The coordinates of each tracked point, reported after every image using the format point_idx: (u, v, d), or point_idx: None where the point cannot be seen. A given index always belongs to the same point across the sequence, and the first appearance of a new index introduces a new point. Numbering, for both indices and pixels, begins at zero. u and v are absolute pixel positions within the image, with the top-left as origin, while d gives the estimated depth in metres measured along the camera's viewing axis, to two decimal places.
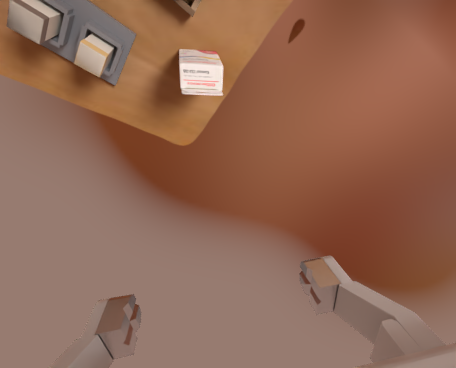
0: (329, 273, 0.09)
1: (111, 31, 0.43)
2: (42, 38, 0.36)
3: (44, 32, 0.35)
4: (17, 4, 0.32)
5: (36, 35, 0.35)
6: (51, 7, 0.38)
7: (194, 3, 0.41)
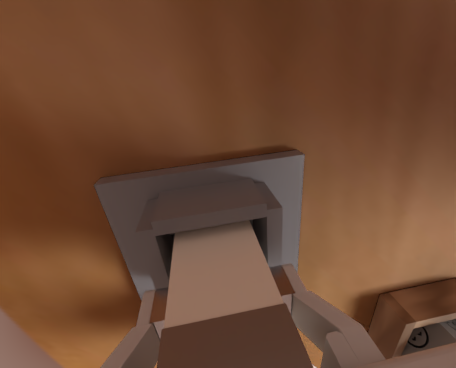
0: (285, 282, 0.09)
1: None
2: None
3: None
4: None
5: None
6: None
7: None
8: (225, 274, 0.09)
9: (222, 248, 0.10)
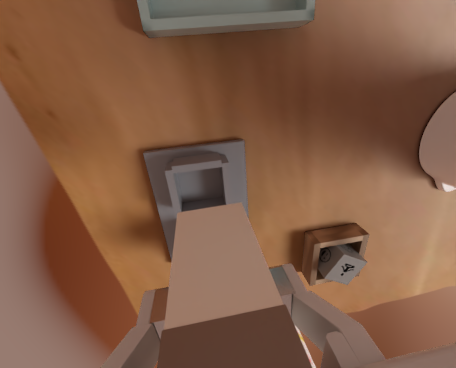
0: (285, 282, 0.09)
1: None
2: None
3: None
4: None
5: None
6: None
7: (320, 280, 0.36)
8: (225, 275, 0.09)
9: (222, 250, 0.10)
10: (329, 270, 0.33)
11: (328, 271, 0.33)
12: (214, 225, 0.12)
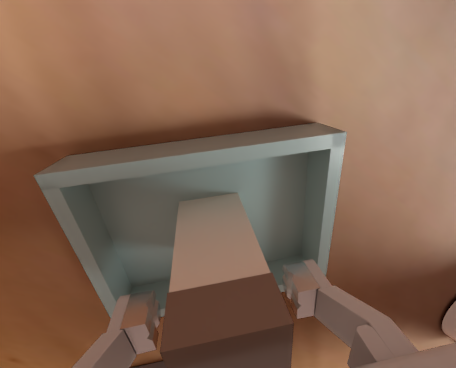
0: (309, 278, 0.09)
1: None
2: None
3: None
4: (286, 340, 0.07)
5: None
6: None
7: None
8: (221, 252, 0.10)
9: (219, 232, 0.11)
10: None
11: None
12: (212, 212, 0.13)
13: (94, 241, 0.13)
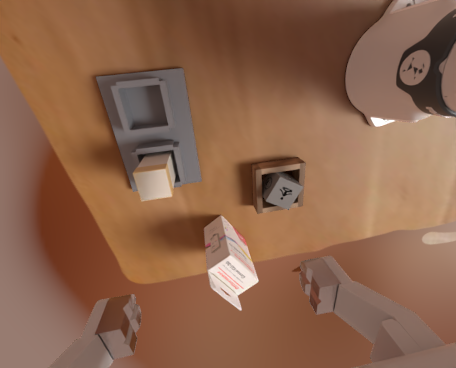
0: (329, 274, 0.09)
1: (185, 162, 0.37)
2: None
3: None
4: None
5: None
6: None
7: (267, 208, 0.41)
8: None
9: None
10: (269, 193, 0.37)
11: (268, 194, 0.38)
12: None
13: None
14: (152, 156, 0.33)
